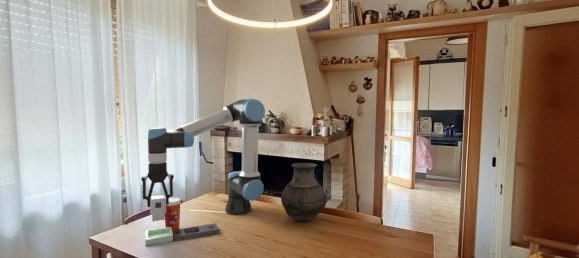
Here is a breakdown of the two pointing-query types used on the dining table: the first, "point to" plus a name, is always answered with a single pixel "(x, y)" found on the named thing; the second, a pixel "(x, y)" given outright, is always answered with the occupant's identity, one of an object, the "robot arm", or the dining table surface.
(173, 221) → the coffee cup
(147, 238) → the tray
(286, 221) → the dining table surface
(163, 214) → the white upright box
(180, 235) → the rail
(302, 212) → the vase
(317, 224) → the dining table surface
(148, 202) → the robot arm
